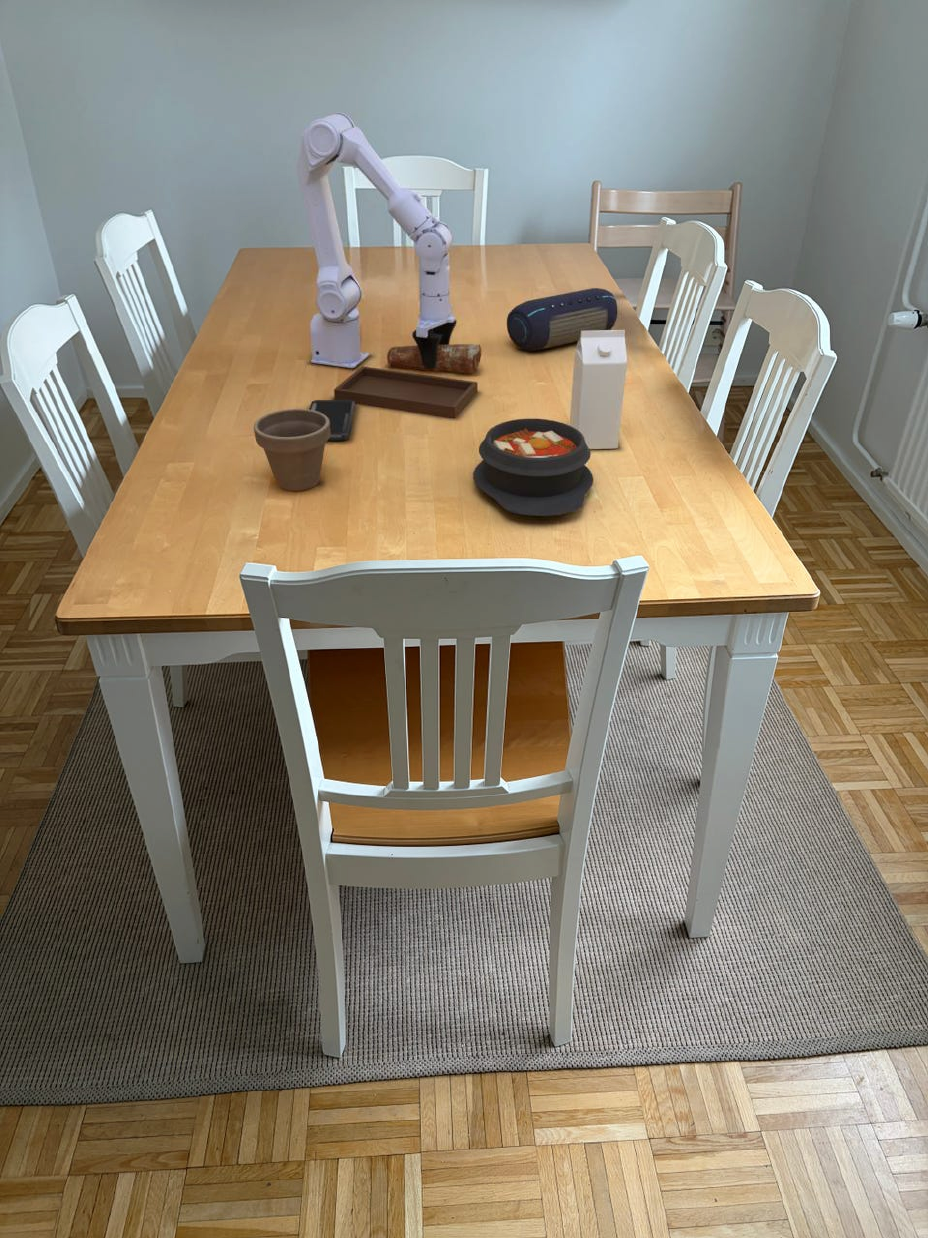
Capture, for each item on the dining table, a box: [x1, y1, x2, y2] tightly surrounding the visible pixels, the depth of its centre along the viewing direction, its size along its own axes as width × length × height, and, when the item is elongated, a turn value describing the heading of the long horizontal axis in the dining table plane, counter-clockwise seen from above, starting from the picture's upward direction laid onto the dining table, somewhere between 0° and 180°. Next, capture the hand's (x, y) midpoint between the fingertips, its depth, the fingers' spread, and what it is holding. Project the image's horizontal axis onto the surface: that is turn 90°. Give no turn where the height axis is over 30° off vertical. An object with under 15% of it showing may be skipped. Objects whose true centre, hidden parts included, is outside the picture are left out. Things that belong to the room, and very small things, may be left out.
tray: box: [333, 365, 478, 419], centre depth 177 cm, size 24×13×2 cm, turn 71°
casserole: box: [472, 418, 594, 517], centre depth 146 cm, size 25×19×8 cm
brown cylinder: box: [386, 343, 483, 374], centre depth 187 cm, size 6×19×6 cm, turn 78°
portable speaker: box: [506, 287, 619, 351], centre depth 199 cm, size 25×10×10 cm, turn 123°
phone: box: [308, 399, 356, 442], centre depth 167 cm, size 8×1×15 cm
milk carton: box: [568, 329, 628, 450], centre depth 157 cm, size 7×7×19 cm
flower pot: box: [253, 408, 330, 492], centre depth 146 cm, size 12×11×10 cm
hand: (435, 362), depth 188 cm, fingers closed on brown cylinder, 6 cm apart
